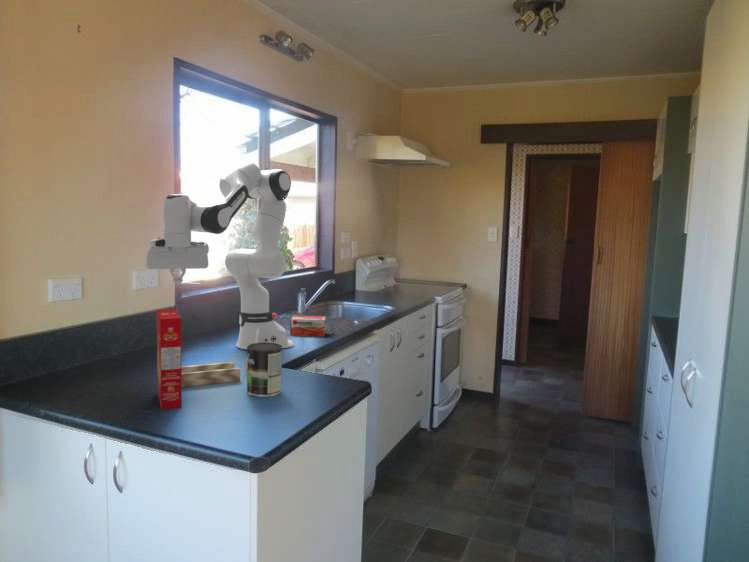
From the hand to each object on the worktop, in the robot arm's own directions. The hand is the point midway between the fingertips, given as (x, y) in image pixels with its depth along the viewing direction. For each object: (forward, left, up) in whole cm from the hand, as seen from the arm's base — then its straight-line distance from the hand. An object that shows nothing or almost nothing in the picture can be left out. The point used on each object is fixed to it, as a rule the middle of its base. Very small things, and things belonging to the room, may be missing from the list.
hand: (177, 281), depth 195 cm
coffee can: (-19, +40, -29) cm, 53 cm away
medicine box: (-60, -32, -30) cm, 75 cm away
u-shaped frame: (-5, +22, -29) cm, 37 cm away
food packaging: (+8, +38, -29) cm, 49 cm away
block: (-21, +22, -29) cm, 42 cm away
